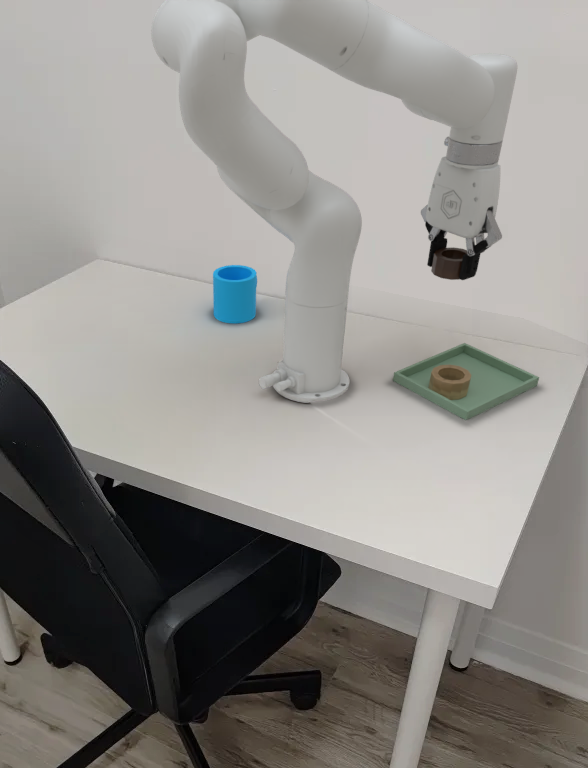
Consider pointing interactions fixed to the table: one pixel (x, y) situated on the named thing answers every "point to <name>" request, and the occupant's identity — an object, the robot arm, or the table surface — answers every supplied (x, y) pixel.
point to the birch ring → (450, 381)
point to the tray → (487, 383)
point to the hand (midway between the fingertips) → (451, 270)
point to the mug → (234, 293)
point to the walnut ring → (448, 262)
